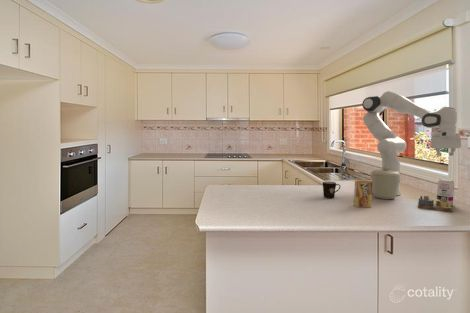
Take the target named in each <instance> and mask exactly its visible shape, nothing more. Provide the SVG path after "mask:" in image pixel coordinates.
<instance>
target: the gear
mask: <svg viewBox="0 0 470 313" xmlns="http://www.w3.org/2000/svg"><path fill="white" fill-rule="evenodd" d="M418 202H419V204H421V205H425V206H432V205H433V204H435V201H434V199H432V198H429V200H424V197H423V195H420V197H419V198H418Z"/></svg>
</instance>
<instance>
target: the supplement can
mask: <svg viewBox="0 0 470 313" xmlns="http://www.w3.org/2000/svg"><path fill="white" fill-rule="evenodd" d="M436 190H437V191H436V200H438V199H439V200H441V197H444V198H446V200H447V201H451V206H452V205H453V204H454V196H455V194H454V193H455V182H454V180H453V179H448V178H440V179H438V181H437V189H436Z"/></svg>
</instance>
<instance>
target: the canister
mask: <svg viewBox="0 0 470 313" xmlns="http://www.w3.org/2000/svg"><path fill="white" fill-rule="evenodd" d="M370 174H371V181H372V182H373V184H372V188H373V194H372V196H374V197H375V198H377V199H381V200H394V199H396V198H397V196H398V195H397V190H398V185H399V186H400V182H399V179H400V180H401V176H402V174H401V172H400V173H399V172H397V171H391V170H389V167H388V166H384V167H383V170H382V169H375V170H372V171H371V172H370Z"/></svg>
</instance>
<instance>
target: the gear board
mask: <svg viewBox="0 0 470 313" xmlns="http://www.w3.org/2000/svg"><path fill="white" fill-rule="evenodd" d="M423 198H424V200H429V199H430V195H423ZM441 201H443V202H446V198H444V197H441ZM417 208H418V209H425V210H431V211H432V210H433V211H440V212H450V213H453V208H452V206H451V207H450V208H446V207H445V208H444V207H439V206H436V203H434V204H433V205H432V206H425V205H421V204H419V201H417Z"/></svg>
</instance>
